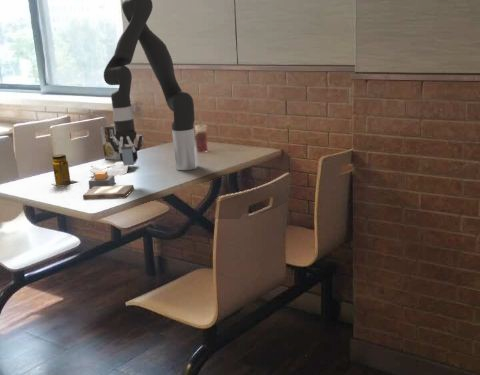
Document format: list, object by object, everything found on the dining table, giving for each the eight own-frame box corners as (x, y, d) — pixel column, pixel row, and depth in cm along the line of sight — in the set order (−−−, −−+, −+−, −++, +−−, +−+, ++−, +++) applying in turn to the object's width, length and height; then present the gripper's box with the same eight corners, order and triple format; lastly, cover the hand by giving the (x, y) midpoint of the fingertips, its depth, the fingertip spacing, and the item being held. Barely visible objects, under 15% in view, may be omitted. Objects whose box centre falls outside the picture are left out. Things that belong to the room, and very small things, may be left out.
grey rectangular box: (136, 162, 236) (133, 144, 234) (133, 164, 232) (131, 147, 230) (126, 163, 237) (123, 145, 235) (123, 165, 233) (121, 147, 231)
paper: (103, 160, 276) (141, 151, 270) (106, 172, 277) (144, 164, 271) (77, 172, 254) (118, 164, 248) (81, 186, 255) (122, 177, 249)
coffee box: (127, 157, 290) (123, 124, 286) (117, 160, 285) (113, 126, 281) (113, 156, 295) (109, 124, 291) (104, 159, 290) (99, 126, 285)
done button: (108, 179, 241) (107, 171, 240) (105, 182, 237) (103, 173, 236) (98, 179, 241) (97, 171, 240) (95, 182, 237) (94, 174, 236)
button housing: (114, 182, 243) (114, 175, 242) (108, 187, 235) (107, 180, 234) (96, 183, 244) (95, 176, 243) (89, 188, 236) (88, 181, 235)
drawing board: (133, 188, 231) (133, 184, 231) (125, 197, 219) (124, 193, 219) (94, 190, 233) (93, 186, 232) (83, 198, 221) (82, 194, 221)
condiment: (51, 184, 246) (47, 156, 243) (68, 179, 253) (64, 152, 249) (61, 186, 242) (57, 158, 239) (79, 181, 248) (75, 153, 245)
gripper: (143, 115, 233) (149, 158, 237) (108, 118, 234) (114, 160, 239) (139, 118, 225) (144, 162, 230) (102, 121, 227) (109, 165, 231)
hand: (129, 161), depth 234 cm, fingers closed on grey rectangular box, 4 cm apart
